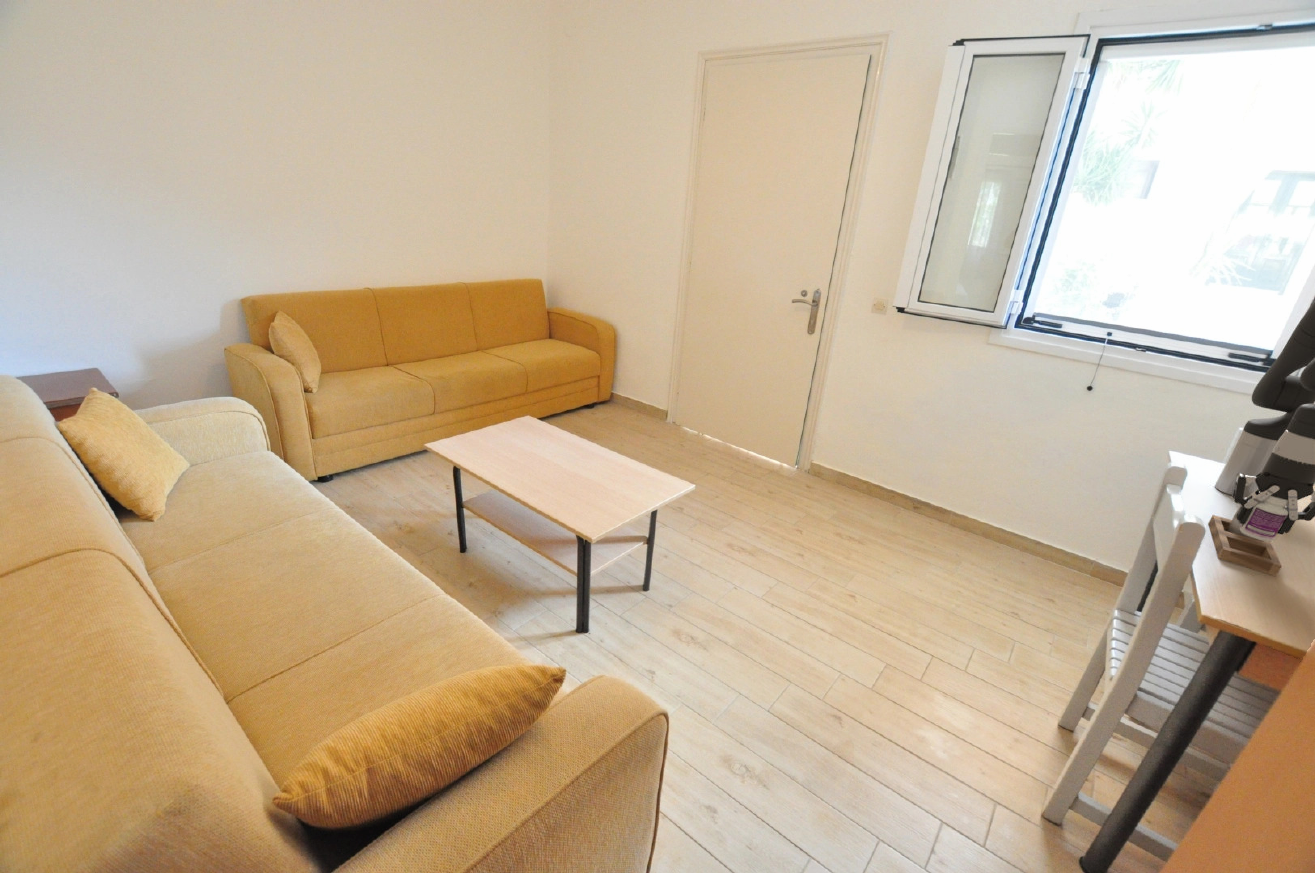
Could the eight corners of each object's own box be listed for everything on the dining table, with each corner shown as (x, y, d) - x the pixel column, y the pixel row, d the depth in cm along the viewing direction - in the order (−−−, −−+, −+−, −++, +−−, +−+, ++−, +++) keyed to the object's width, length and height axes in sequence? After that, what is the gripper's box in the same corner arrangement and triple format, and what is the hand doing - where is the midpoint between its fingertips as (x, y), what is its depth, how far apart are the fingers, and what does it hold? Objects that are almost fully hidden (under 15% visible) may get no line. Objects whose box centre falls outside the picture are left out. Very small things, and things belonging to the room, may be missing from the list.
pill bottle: (1279, 544, 118) (1303, 504, 114) (1250, 539, 119) (1273, 499, 115) (1260, 530, 123) (1281, 491, 119) (1232, 526, 124) (1253, 488, 120)
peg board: (1208, 523, 137) (1226, 487, 133) (1258, 537, 132) (1279, 500, 128) (1218, 558, 122) (1239, 518, 118) (1275, 576, 117) (1300, 535, 113)
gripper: (1345, 461, 113) (1302, 533, 119) (1248, 440, 121) (1212, 509, 127) (1357, 472, 107) (1311, 548, 114) (1254, 450, 115) (1217, 521, 122)
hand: (1259, 527), depth 120 cm, fingers closed on pill bottle, 5 cm apart
